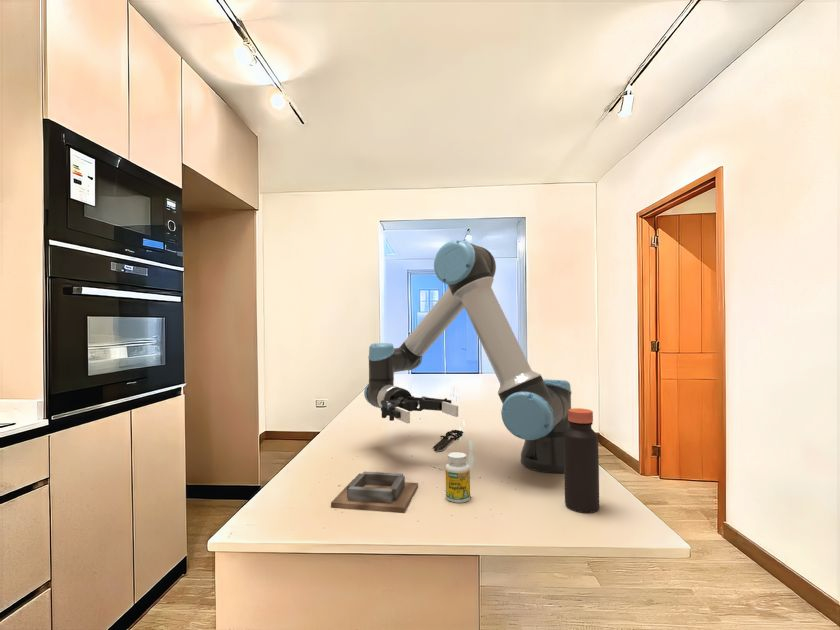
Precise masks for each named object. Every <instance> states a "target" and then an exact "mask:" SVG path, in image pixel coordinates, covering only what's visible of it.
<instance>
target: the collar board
mask: <svg viewBox="0 0 840 630" xmlns="http://www.w3.org/2000/svg"><path fill="white" fill-rule="evenodd" d="M418 488H419V482H411V481H406V478H405V475H404V473H398V472H397V473H395V472H383V471H382V472H381V471H380V472H379V471H363V472H361V473H358V474H357V475H356V476H355V477H354V478H353V479H352V480H351V481H350V482H349V483H348V484H347V485H346V486H345V487H344V488H343V490H341V492H339V493H338V494H337V496H336V497H335V498H334V499H333V500H331V502H330V507H331V508H337V509H353V510H361V511H362V510H363V511H364V510H366V511H376V512H377V511H378V512H390V513H391V512H392V513H393V512H394V513H403V514H404V513H406V510H407V509H408V507H409V505H410V503H411V501H412V500H413V498H412V497H414V495H415V494H416V492H417V490H418ZM411 499H412V500H411Z"/></svg>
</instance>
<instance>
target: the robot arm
mask: <svg viewBox="0 0 840 630" xmlns="http://www.w3.org/2000/svg"><path fill="white" fill-rule="evenodd" d="M433 270H434V274H435V275H436V277H437V278H438V280H440V282H441V283H443V284H445V285H447V286H448V288H447V289H446V291H445V292H444V293H443V295H442V296H441V297H440V298H439V300H437V301H436V303H435V304H434V305H433V307H431V308H430V310H429V311H428V312H427V313H426V315H425V316H424V318H423V319H421V321H420V322H419V323H418V325H417V326H415V328H414V329H413V331H412V332H411V333H410V334H409V336H407V337H406V339H405V340H404V341H403V342H402V343H401V345H400V346H399V347H396V348H395V347H394V344H392V343H390V342H387V343H386V342H376V343H375V342H374V343H371V344H370V345H369V347H368V352H369V353H368V357H367V358H368V383H367V384H366V386H365V388H364V390H363V397H364V398H365V400H366V401H367V403H368V404H370V405H371V406H373V407H375V408H378V409H380V411H381V418H382V419H386V418H387V417H388V416H389V417H388V419H389V421H390V422H391V421H395V419H396V420H399V421H401V422H403V423H405V424H411V412H422V411H424V410H428V411H440V412H442V413H443V414H446V415H449V416H452V417H454V418H458V417H459V405H457V404H453V403H452V400H451V399H448V398H444V399H443V398H437V397H436V398H434V397H428V396H421V397H418V396H417V397H415V396H414V395H412V394H411V392H410V391H409V390H408V389H406V388H402V387H399V386H396V385H394V384H395V378H394V377H395V373H399V372H405V371H412V370H414V369H416V368H418V367H420V365H421V364H422V360H423V356H424V355H425V354H426V353H427V351H428V350H429V349H430V348H431V347H432V345H433V344H435V342H436V341H437V340H438V339H439V337H440V336H441V335H442V334H443V333H444V332H445V331H446V329H447V328H448V327H449V326H450V325H451V324H452V323H453V321H455V319H456V318H457V317H458V316H459V314H460V313H461V312H463V310H464V309H465V311H466V314H467V315H468V317H469V320H470V322H471V324H472V326H473V328H474V331H475V333H476V335H477V337H478V339H479V341H480V344H481V346H482V348H483V351H484V352H485V354H486V357H487V359H488V361H489V363H490V366H491V367H492V370H493V372H494V374H495V375H496V378H497V380H498V382H499V387H498V392H497V395H498V397H499V399H500V401H501V404H502V406H501V410H500V411H501V419H502V423H503V424H504V427H505V428H506V429H507V431H509V433H511V435H513V436H514V437H516V438H519V439H521V440H523V441H524V443H523V446H522V449H521V453H520V463H521V465H522V466H524V467H525V468H528V469H530V470H534V471H538V472H542V473H550V474H551V473H552V474H558V473H559V474H560V473H561V474H562V473H564V433H565V431H566V430H567V429H568V428H569V427H570V423H569V421H568V410H569V409H572V389H571V384H570V382H569V381H568V380H565V379H564V380H563V379H549V378H543V376H542V375H541V373H538V372H535V371H534V370H532V368H531V366H530V364H529V362H528V360H527V358H526V356H525V354H524V352H523V350H522V348H521V346H520V344H519V342H518V339H517V337H516V335H515V333H514V331H513V329H512V327H511V325H510V323H509V321H508V319H507V316H506V315H505V313H504V310H503V308H502V306H501V304H500V303H499V300H498V298H497V296H496V294H495V292H494V289H493V288H492V285H493V282H494V280H495V279H494V276H495V274H496V271H497V265H496V260H495V258H494V255H493V254H492V253H491V251H489V249H487V248H484V247H482V246H479V245H476V244H473V243H471V242H468V241H466V240H460V239H459V240H457V239H454V240H450V241H448V242H446V243H444V244H443V245H442V246H441V247H440V248H439V250H438V251H437V252H436V255H435V258H434V261H433Z"/></svg>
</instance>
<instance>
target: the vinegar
mask: <svg viewBox="0 0 840 630" xmlns="http://www.w3.org/2000/svg"><path fill="white" fill-rule="evenodd" d="M568 421H569V423H570V427H569V428H568V429H567V430H566V431H565V433H564V475H563V477H564V504H565V506H566V507H567V508H568V509H570V510H571V511H575V512H578V513H587V514H588V513H594V512H597V511H598V510H599V509H600V466H599V465H600V463H599V462H600V461H599V459H600V457H599V436H598V434H597V433H596V432H595V431H594V429H593V428H592V426H593V424H594V423H593V422H594V411H593V410H591V409H587V408H577V407H575V408H571V409H569V410H568Z"/></svg>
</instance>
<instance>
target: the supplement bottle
mask: <svg viewBox="0 0 840 630" xmlns="http://www.w3.org/2000/svg"><path fill="white" fill-rule="evenodd" d="M447 461H448V463H447V464H446V465H445V471H444V472H445V497H446V499H447V500H448V501H449V502H451V503H456V504H457V503H458V504H462V503H465V502H468V501H469V500H471V469H470V465H469V464H468V463H467V454H466V453H465V452H458V451H457V452H454V451H453V452H450V453H449V454H448V455H447Z"/></svg>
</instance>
